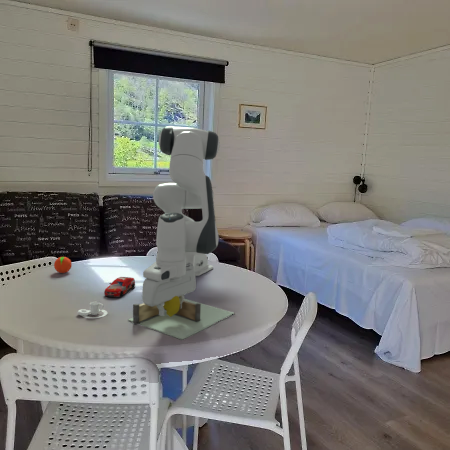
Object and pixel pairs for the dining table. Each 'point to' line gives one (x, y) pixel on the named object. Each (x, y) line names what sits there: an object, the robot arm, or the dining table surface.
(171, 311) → the lemon
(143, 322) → the mat
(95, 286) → the dining table surface
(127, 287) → the race car
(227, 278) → the dining table surface
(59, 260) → the clementine
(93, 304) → the teacup and saucer
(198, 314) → the fence panel
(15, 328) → the dining table surface
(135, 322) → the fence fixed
